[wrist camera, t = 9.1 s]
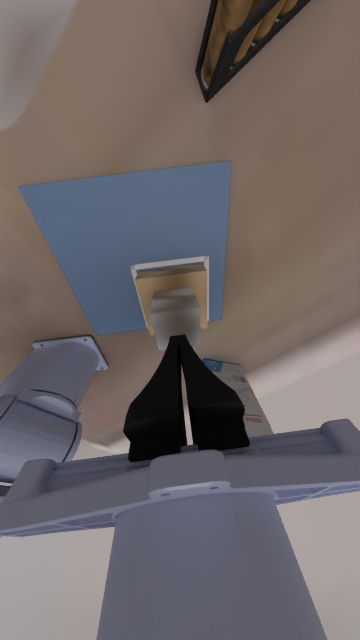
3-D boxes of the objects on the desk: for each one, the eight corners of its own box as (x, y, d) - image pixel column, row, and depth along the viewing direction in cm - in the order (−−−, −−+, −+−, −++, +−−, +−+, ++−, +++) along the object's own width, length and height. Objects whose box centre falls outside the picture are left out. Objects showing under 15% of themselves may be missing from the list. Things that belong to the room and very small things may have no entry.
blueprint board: (98, 333, 25) (96, 335, 24) (22, 187, 15) (17, 186, 14) (220, 318, 25) (221, 320, 24) (229, 162, 15) (232, 160, 14)
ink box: (194, 374, 32) (211, 469, 20) (203, 358, 30) (229, 455, 17) (229, 379, 34) (264, 468, 22) (240, 364, 32) (287, 456, 19)
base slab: (151, 323, 24) (150, 335, 21) (138, 271, 19) (134, 279, 17) (202, 316, 24) (207, 328, 21) (201, 263, 19) (207, 270, 17)
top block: (160, 323, 20) (158, 350, 16) (153, 291, 18) (149, 314, 13) (194, 319, 20) (201, 345, 16) (191, 287, 18) (199, 308, 14)
